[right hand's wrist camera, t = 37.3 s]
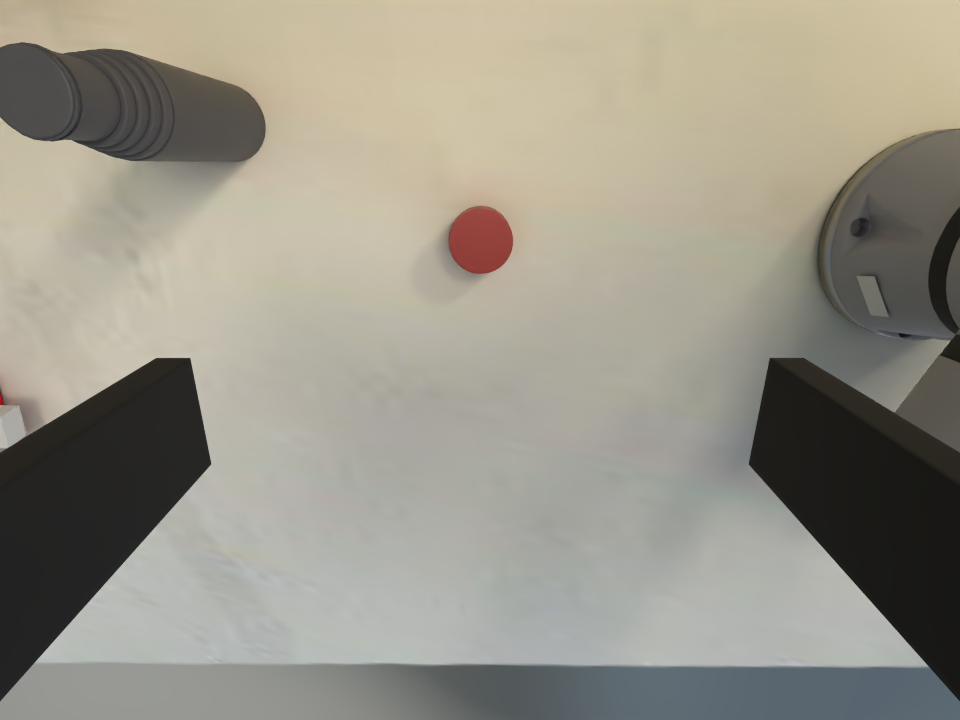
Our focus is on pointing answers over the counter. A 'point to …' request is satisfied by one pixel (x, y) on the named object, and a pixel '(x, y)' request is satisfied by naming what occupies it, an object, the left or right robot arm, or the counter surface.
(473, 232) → the cap
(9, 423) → the toy
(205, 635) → the counter surface
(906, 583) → the right robot arm
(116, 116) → the bottle
